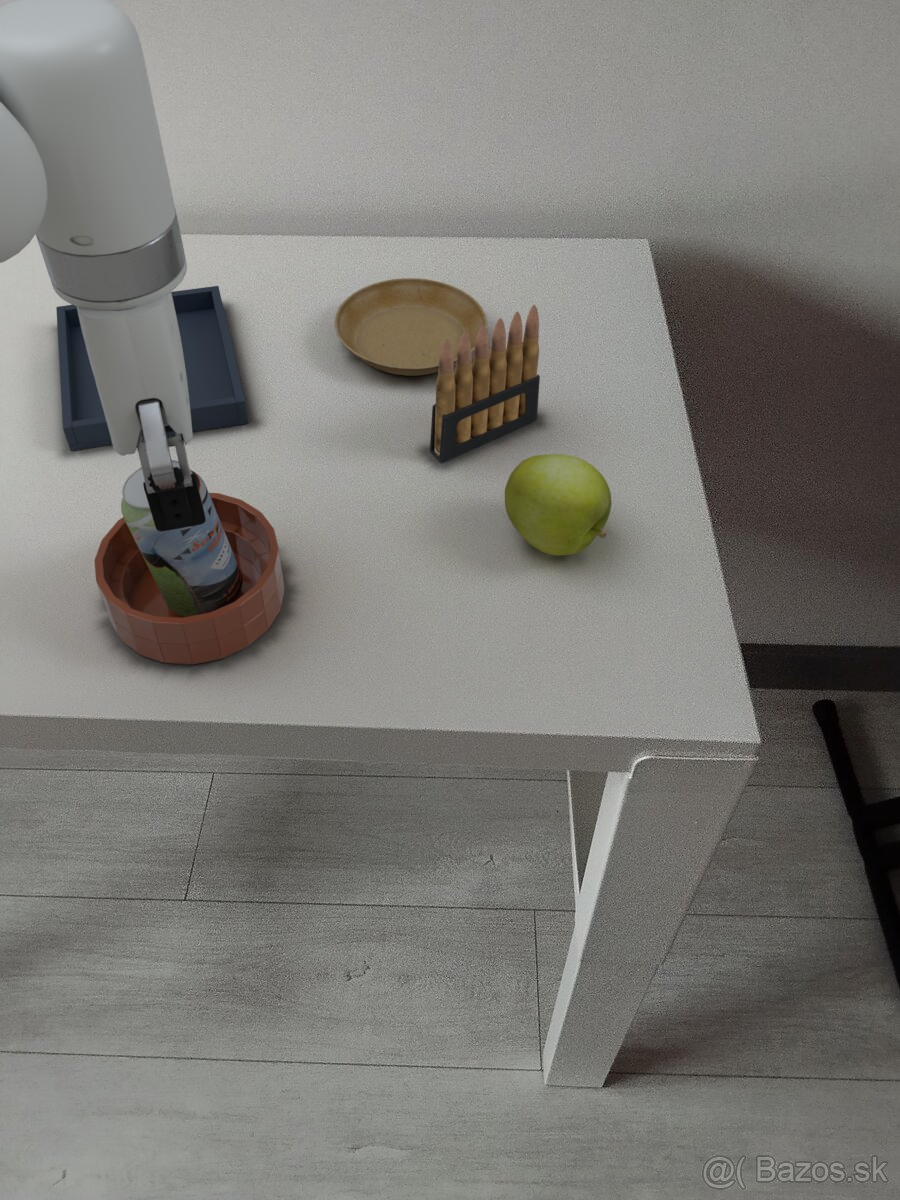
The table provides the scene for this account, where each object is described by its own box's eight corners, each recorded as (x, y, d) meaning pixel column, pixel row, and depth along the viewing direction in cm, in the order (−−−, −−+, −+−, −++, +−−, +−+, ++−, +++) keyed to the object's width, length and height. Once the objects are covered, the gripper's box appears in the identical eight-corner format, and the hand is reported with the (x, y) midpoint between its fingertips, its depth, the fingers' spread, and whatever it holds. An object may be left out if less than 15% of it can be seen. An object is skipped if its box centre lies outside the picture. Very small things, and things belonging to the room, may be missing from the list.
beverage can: (238, 628, 78) (214, 515, 69) (140, 625, 78) (104, 511, 69) (251, 566, 82) (229, 451, 73) (157, 564, 82) (125, 448, 73)
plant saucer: (517, 343, 103) (519, 321, 101) (411, 411, 96) (411, 388, 94) (411, 283, 109) (410, 261, 107) (304, 342, 102) (302, 319, 100)
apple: (577, 595, 82) (590, 523, 75) (483, 543, 85) (488, 470, 79) (628, 538, 86) (644, 466, 80) (536, 491, 89) (545, 418, 83)
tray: (70, 451, 91) (62, 428, 89) (63, 329, 103) (56, 306, 101) (248, 423, 94) (245, 400, 92) (222, 307, 106) (218, 285, 104)
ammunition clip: (525, 409, 96) (536, 296, 87) (537, 420, 95) (550, 307, 86) (429, 451, 92) (430, 337, 83) (440, 463, 91) (443, 349, 82)
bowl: (116, 682, 75) (100, 639, 71) (105, 553, 83) (90, 508, 79) (297, 646, 78) (291, 603, 74) (269, 524, 86) (262, 479, 82)
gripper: (40, 181, 63) (109, 405, 76) (48, 352, 52) (127, 578, 65) (167, 166, 64) (213, 388, 77) (200, 329, 53) (247, 555, 66)
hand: (173, 475), depth 71 cm, fingers open, 9 cm apart
